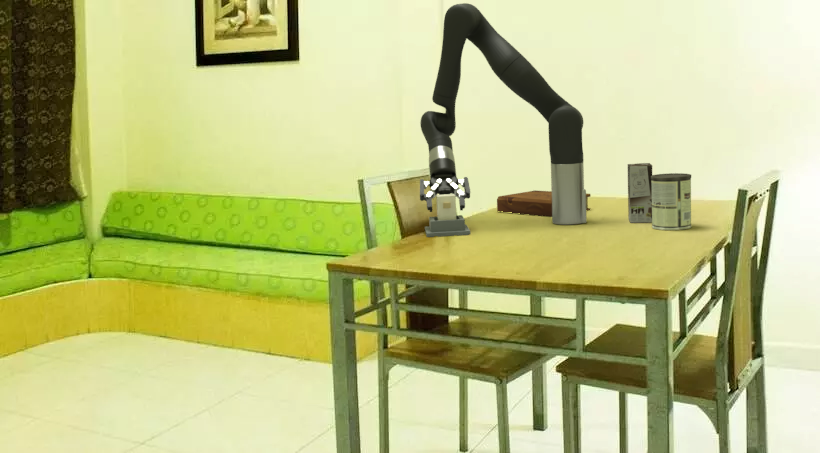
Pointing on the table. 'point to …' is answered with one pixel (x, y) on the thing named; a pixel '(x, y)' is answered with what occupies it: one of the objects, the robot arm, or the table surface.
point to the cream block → (446, 207)
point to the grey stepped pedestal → (447, 227)
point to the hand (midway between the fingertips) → (446, 209)
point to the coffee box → (639, 192)
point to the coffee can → (671, 201)
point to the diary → (529, 203)
